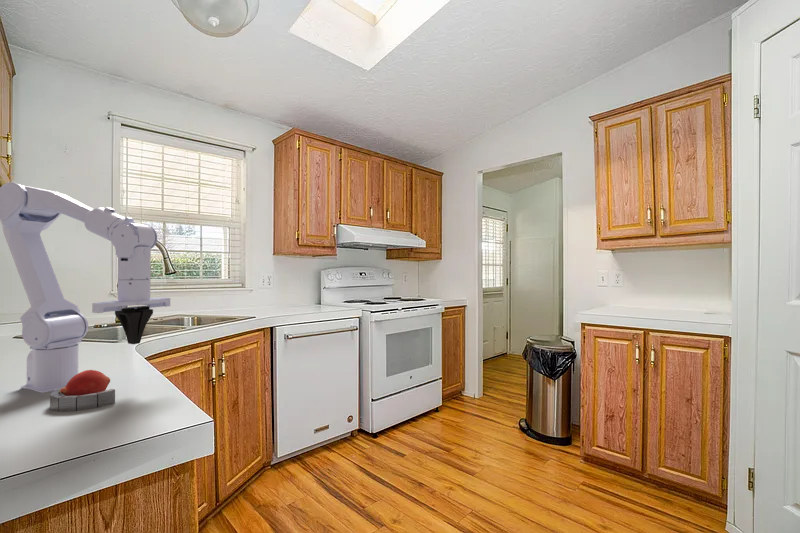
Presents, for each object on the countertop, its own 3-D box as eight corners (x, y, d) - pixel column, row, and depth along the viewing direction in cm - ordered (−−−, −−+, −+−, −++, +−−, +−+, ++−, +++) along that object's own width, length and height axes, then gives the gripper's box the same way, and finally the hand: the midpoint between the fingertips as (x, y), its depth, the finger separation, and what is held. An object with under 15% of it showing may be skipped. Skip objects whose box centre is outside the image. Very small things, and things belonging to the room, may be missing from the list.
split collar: (38, 406, 70) (38, 391, 70) (82, 394, 76) (82, 381, 76) (70, 416, 65) (70, 401, 65) (115, 403, 71) (115, 389, 71)
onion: (117, 397, 75) (67, 411, 68) (102, 392, 77) (52, 405, 70) (117, 367, 75) (67, 378, 67) (101, 364, 77) (51, 374, 70)
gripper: (106, 281, 72) (106, 352, 72) (179, 279, 85) (178, 339, 86) (86, 280, 75) (86, 348, 76) (159, 278, 89) (159, 336, 89)
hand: (134, 343), depth 81 cm, fingers closed
